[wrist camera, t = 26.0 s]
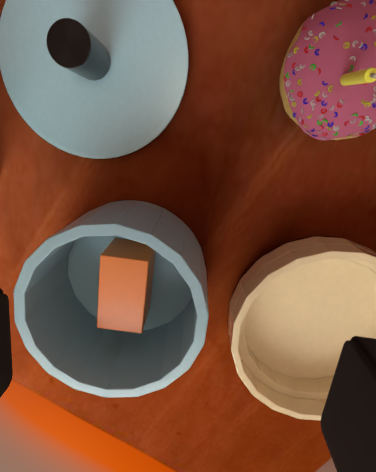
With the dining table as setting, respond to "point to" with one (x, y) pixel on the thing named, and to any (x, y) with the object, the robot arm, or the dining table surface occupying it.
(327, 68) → the cupcake
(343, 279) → the bowl
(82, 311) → the pot
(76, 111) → the pot lid
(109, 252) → the orange rectangular block
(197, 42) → the dining table surface
